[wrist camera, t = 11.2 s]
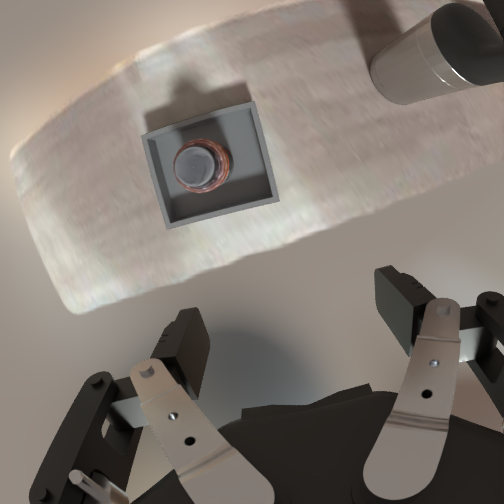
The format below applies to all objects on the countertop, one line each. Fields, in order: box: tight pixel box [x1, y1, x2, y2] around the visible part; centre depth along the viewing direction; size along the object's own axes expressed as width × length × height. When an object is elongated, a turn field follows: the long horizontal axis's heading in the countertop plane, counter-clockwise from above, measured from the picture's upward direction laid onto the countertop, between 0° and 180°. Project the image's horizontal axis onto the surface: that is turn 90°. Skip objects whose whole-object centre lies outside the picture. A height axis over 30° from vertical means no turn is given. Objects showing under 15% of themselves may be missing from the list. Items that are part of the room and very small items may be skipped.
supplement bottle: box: [173, 138, 234, 193], centre depth 30 cm, size 6×6×11 cm
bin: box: [141, 101, 280, 230], centre depth 35 cm, size 15×13×4 cm
